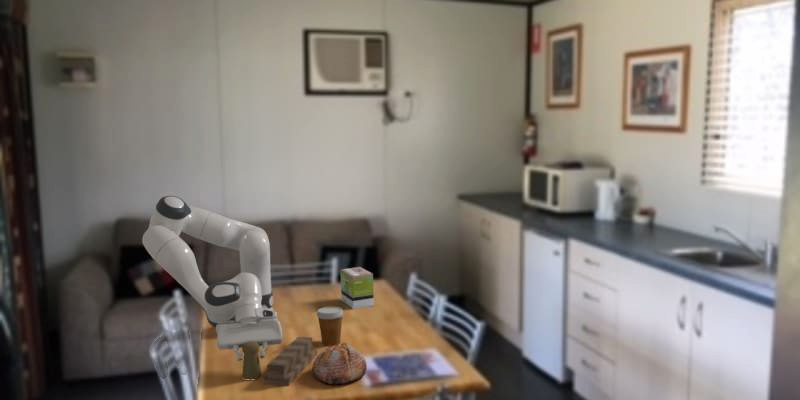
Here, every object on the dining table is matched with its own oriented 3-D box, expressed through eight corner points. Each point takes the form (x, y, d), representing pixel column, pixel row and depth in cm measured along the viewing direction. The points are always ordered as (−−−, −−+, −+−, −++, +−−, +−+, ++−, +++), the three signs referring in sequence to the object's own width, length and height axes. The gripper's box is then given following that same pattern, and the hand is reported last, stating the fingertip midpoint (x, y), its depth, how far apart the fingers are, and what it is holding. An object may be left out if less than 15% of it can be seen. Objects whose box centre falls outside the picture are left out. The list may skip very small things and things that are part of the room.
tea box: (340, 301, 285) (339, 268, 283) (361, 298, 289) (360, 266, 288) (352, 309, 271) (351, 275, 270) (374, 306, 276) (373, 272, 274)
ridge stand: (288, 385, 192) (288, 366, 191) (263, 383, 194) (262, 364, 193) (316, 355, 217) (316, 337, 217) (294, 354, 219) (293, 336, 218)
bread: (357, 363, 212) (357, 333, 211) (372, 385, 193) (373, 353, 192) (307, 367, 207) (308, 336, 206) (318, 390, 188) (319, 356, 188)
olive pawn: (257, 380, 196) (255, 346, 195) (238, 379, 197) (236, 345, 196) (265, 373, 202) (263, 339, 201) (247, 372, 203) (245, 338, 202)
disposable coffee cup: (348, 339, 233) (347, 307, 232) (338, 348, 224) (337, 314, 223) (324, 337, 236) (323, 305, 235) (313, 345, 227) (312, 312, 226)
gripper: (215, 317, 202) (215, 357, 194) (281, 311, 207) (284, 350, 198) (216, 326, 207) (217, 366, 198) (280, 320, 212) (284, 359, 203)
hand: (251, 358), depth 198 cm, fingers open, 5 cm apart
